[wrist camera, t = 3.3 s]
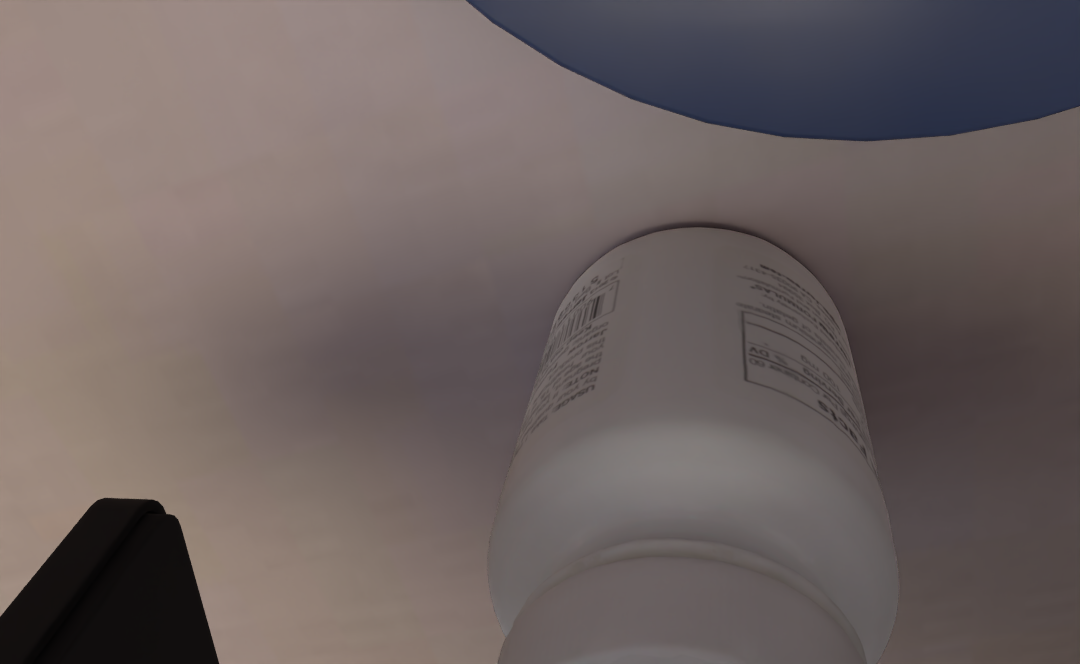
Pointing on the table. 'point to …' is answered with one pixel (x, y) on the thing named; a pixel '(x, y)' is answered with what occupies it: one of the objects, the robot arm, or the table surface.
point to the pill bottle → (694, 471)
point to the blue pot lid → (818, 60)
